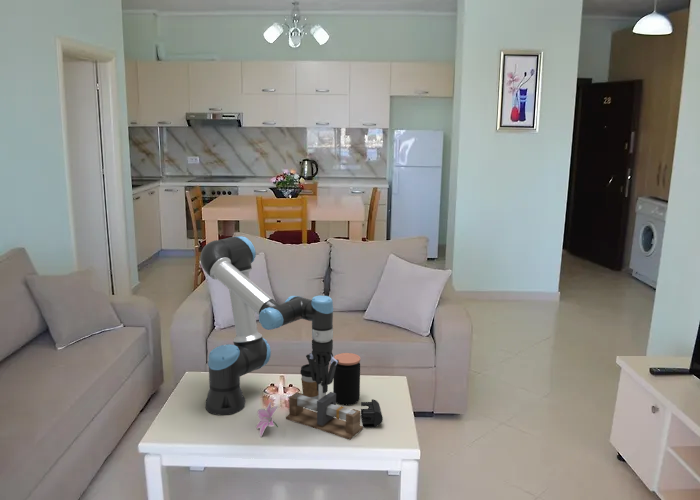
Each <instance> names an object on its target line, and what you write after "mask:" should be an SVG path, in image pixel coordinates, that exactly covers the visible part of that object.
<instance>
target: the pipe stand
mask: <svg viewBox="0 0 700 500" xmlns="http://www.w3.org/2000/svg"><path fill="white" fill-rule="evenodd" d="M317 401H318V400H317V399H313V398H310V397H307V396H303V393H301V392H298V391H297V392H295V393H293V394H292V395H290V396H289V397H288V415H286V416H285V419H286V420H288V421H291V422H295V423H297V424H300V425H303V426H306V427H309V428H312V429H316V430H318V431H322V432H325V433H327V434H331V435H334V436H337V437H339V438H344V439H347V440H349V441H350V440H351V439H353V438H354V437H355V436H356V435H357V434H359V433H360V432H361V431H362V430H363V429H364V428H363V425H361V410H359V409H355V408H352V409H350V408H348V407H347V408H346V407H344V406H343V405H340V406H339V405H337V404H336V405H333V404H329V405H327V406H326V415H329V416H333V417H334V418H332V419H331V420H330V421H328V422H327V423H326V424H324V425H323V426H322V425H318V424H317Z"/></svg>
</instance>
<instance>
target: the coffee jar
mask: <svg viewBox="0 0 700 500" xmlns="http://www.w3.org/2000/svg"><path fill="white" fill-rule="evenodd" d="M333 357H334V358H335V359H336V360H337V359H338V360H339V362H338V364H337V365H336V369H335V374H334V378H333V382H332V383H333V385H332V386H333V387H332V389H333V390H332V392H333V393H336V404H338V405H340V406H353V405H355V404H357V403H358V402H359V400H360V398H361V396H360V395H361V394H360V393H361V392H360V391H361V356H359V355H358V354H356V353H351V352H343V353H338V354H335V355H333Z"/></svg>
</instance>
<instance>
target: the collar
mask: <svg viewBox="0 0 700 500" xmlns="http://www.w3.org/2000/svg"><path fill="white" fill-rule="evenodd" d="M329 404H333V405H337V403H336V393H333V391H330V392H327V393H326V395H325V396H324V397H322V398H321V399H319V400H318V401H317V411H316V412H317V424H318V425H322V426H323V425H324V424H326V423H327V422H328V421H330V420H331V419H332V418H335V417H333V416H329V415H326V406H327V405H329Z"/></svg>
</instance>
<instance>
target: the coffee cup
mask: <svg viewBox="0 0 700 500" xmlns="http://www.w3.org/2000/svg"><path fill="white" fill-rule="evenodd" d="M299 373H300V375H301V379H300V380H301V387H302V390H301V391H302V394H303V396H307V397H310V398H313V399H317V400H319V391H317V383H316V381H313V380H312V376H311V372H310V367H309V363H308V364H306V363H305V364H304V365H302V366H301V367H300V372H299Z"/></svg>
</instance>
